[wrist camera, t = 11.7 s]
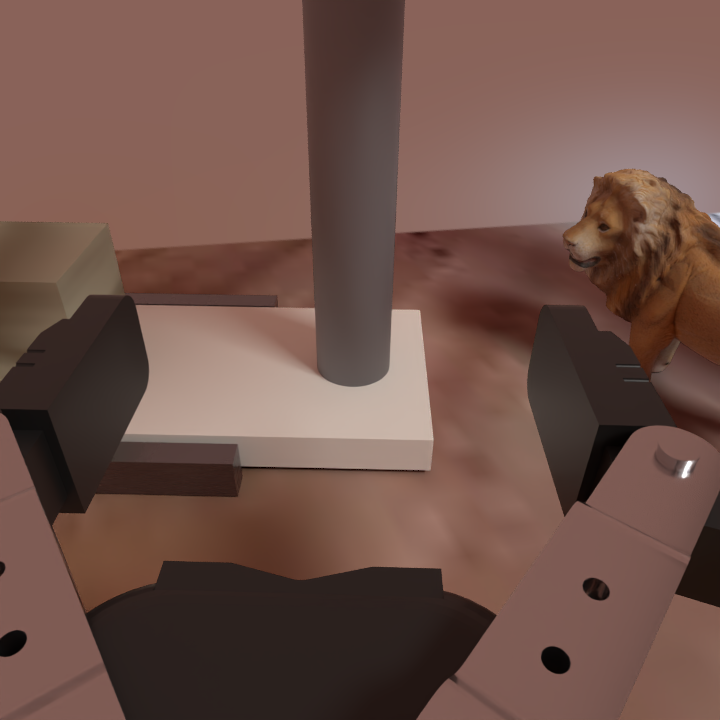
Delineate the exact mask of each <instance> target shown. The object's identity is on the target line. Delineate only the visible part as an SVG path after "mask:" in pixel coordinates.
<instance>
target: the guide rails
mask: <svg viewBox="0 0 720 720" xmlns="http://www.w3.org/2000/svg"><path fill="white" fill-rule="evenodd" d="M125 295H129V296H131V297H132V299H133V300H134V302H135V305H166V306H221V307H277V308H278V301H277V296H267V295H211V294H154V293H125ZM241 480H242V470H241V463H240V456H239V449H238V444H212V443H165V442H120V444H119V446H118V448H117V450H116V452H115V454H114V456H113V458H112V460H111V462H110V464H109V466H108V468H107V470H106V472H105V474H104V476H103V478H102V480H101V482H100V484H99V486H98V488H97V490H96V492H95V493H109V494H153V495H197V496H238V492H239V488H240V484H241Z"/></svg>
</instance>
